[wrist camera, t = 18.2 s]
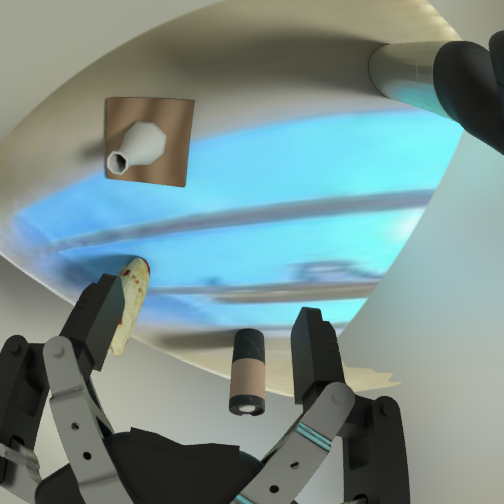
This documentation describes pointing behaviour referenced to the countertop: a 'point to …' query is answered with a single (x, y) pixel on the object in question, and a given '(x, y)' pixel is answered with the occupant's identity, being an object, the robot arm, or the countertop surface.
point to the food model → (130, 301)
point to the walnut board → (168, 120)
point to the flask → (138, 147)
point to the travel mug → (248, 374)
